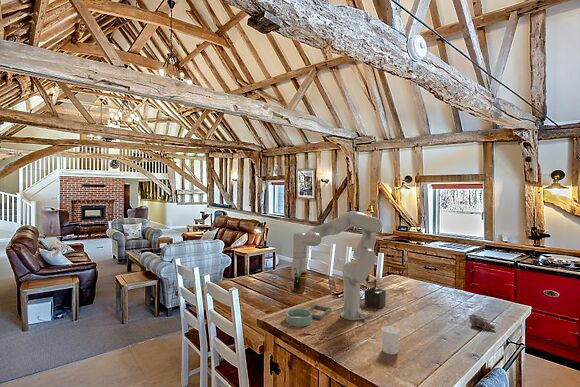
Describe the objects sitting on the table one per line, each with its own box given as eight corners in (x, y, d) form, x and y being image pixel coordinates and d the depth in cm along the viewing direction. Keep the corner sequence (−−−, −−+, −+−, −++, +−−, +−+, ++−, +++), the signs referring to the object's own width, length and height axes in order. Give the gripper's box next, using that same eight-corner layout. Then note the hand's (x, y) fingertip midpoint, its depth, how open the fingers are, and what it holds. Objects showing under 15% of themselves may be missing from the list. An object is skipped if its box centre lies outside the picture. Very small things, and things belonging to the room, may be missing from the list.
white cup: (378, 347, 151) (379, 325, 151) (394, 346, 152) (395, 325, 152) (385, 355, 143) (385, 333, 143) (402, 355, 144) (402, 332, 144)
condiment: (307, 293, 180) (310, 272, 179) (295, 295, 175) (298, 274, 174) (299, 288, 186) (302, 268, 185) (287, 290, 181) (290, 269, 180)
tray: (331, 311, 196) (331, 307, 196) (320, 319, 183) (320, 316, 183) (314, 307, 202) (314, 304, 202) (303, 315, 189) (303, 312, 189)
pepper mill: (386, 304, 209) (387, 276, 209) (378, 308, 201) (379, 280, 201) (365, 298, 220) (365, 272, 220) (356, 303, 212) (357, 275, 212)
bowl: (316, 319, 183) (316, 311, 183) (304, 328, 171) (304, 320, 171) (294, 314, 191) (294, 306, 191) (281, 322, 178) (281, 314, 178)
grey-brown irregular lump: (496, 329, 172) (496, 318, 172) (491, 333, 168) (491, 322, 167) (472, 322, 182) (472, 311, 182) (466, 326, 177) (467, 315, 177)
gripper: (301, 251, 190) (300, 282, 190) (286, 256, 175) (285, 289, 175) (312, 253, 186) (312, 284, 186) (298, 258, 171) (297, 292, 171)
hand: (299, 286), depth 181 cm, fingers closed on condiment, 6 cm apart
